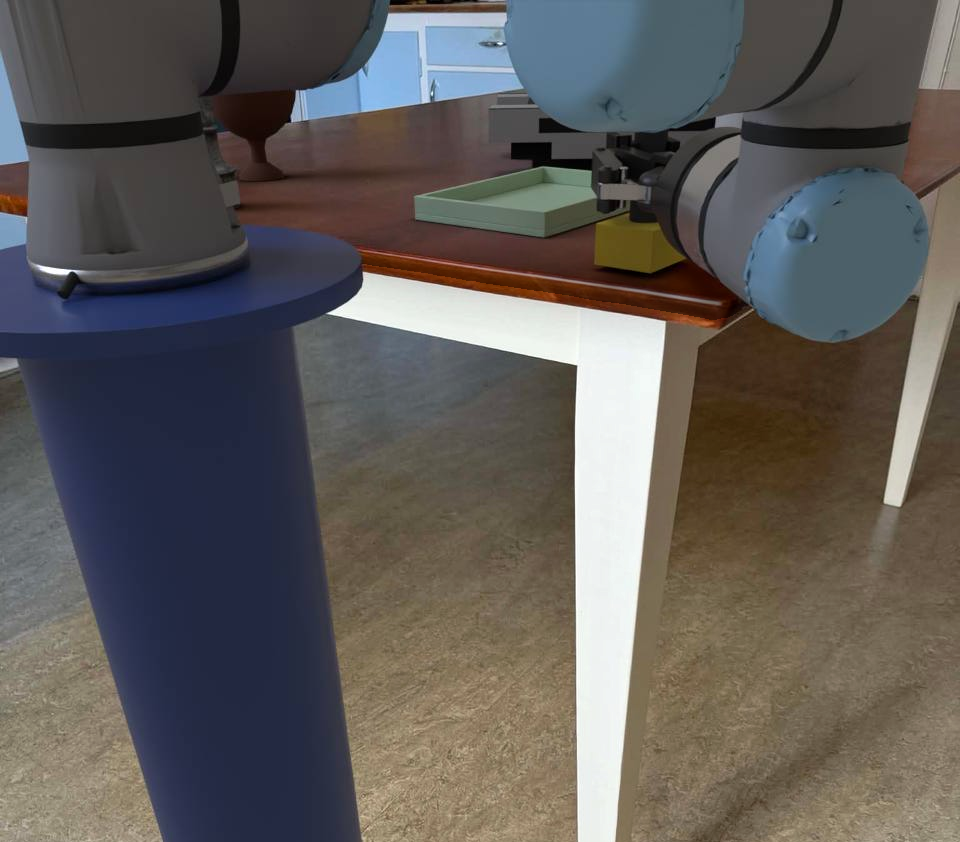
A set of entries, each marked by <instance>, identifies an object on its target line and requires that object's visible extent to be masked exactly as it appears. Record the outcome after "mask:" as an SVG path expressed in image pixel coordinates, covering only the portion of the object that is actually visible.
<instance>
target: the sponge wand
mask: <svg viewBox="0 0 960 842" xmlns="http://www.w3.org/2000/svg"><path fill="white" fill-rule="evenodd" d="M668 130H669V129H666V130H662V131H659V132H655V133H647V132H635V137H634V141H635V142H638V143H639V150H642V151H645V152H648V153H651V154H652V153H655V152H667V142H668ZM594 238H595V241H594V260H593V265H595V266H600V267H607V268H614V269H619V270H626V271H632V272H639V273H645V274H653V273H655V272H657V271H660V270H662V269H665V268H667V267H670V266H672V265H675V264H676V263H679V262H682V261H684V260H688V259H687V258H686V257H684V256H683V255H682V254H680V253H679V252H678V251H676V250H675V249H674V248H673V247H672V246H671V245H670V244H669V242H668V241H667V240H666V238H665V236H664V235H663V233H662V231H661V228H660V226H659V223H658V221H657V218H656V216H655V213H651V212H646V211H643V210H641V209H640V208H639V207H638V205H637V200H630V211H629V212H626V213H625V214H624V213H623V214H622V215H617V216H614V217H612V218H608V219H606V220H605V219H604V220H602V221H598V222H597V223H595V237H594Z"/></svg>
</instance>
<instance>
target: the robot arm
mask: <svg viewBox="0 0 960 842" xmlns="http://www.w3.org/2000/svg"><path fill="white" fill-rule="evenodd" d="M390 3H391V0H0V54H1V58H2V63H3V66H4V69H5V74H6V76H7V81H8V84H9V85H8V86H9V88H10V92H11V96H12V99H13V103H14V107H15V110H16V115H17V118H18V121H19V124H20V128H21V132H22V136H23V141H24V144H25V148H26V152H27V157H28V188H27V189H28V190H27V212H26V240H25V244H26V251H27V261H28V264H29V268H30V272H31V275H32V279H33V282H34V283H35V284H36V285H37V286H39V287H41V288H43V289H46V290H49V291H53V292H58V295H59V296H60V297H61V298H62V299H68V298H69V296H70V295H71V294H73V295H88V296H115V295H134V294H146V293H156V292H164V291H171V290H177V289H183V288H189V287H194V286H198V285H203V284H207V283H211V282H214V281H218V280H221V279H224V278H227V277H229V276H232V275H234V274H236V273H238V272H240V271H242V270H243V269H245V268H246V267H247V266H248V265H249V263H250V254H249V247H248V241H247V236H246V235H245V231H244V228H243V226H242V225H243V224H242V222H241V221H240V220H239V217H238V215H237V212H236V209H234V207H233V205H237V204H241V197H240V189H239V184H238V180H236V179H235V181H232V182H228V183H224V184H223V183H222V180H221V178H220V176H219V174H218V172H217V170H216V168H215V166H214V163H213V161H212V159H211V157H210V155H209V152H208V149H207V146H206V142H205V136H204V130H203V124H202V119H201V113H200V106H199V99H198V97H204V96H215V95H228V94H240V93H253V92H266V91H278V90H296V91H307V90H314V89H318V88H320V87H323V86H325V85H329V84H330V85H331V84H334V83H340V82H342V81H345V80H347V79H349V78H351V77H353V76H354V75H355V74H357V73H359V71H360V70H361V69H363V67H365V65H366V64H367V63H368V62H369V61H370V59H371V58H372V56H373V55H374V53H375V52H376V49H377V48H378V46H379V43H380V42H381V40H382V38H383V34H384V31H385V28H386V25H387V20H388V16H389V12H390ZM505 5H506V21H505V23H504V25H503V34H504V41H505V45H506V49H507V53H508V56H509V59H510V62H511V64H512V68H513V71H514V73H515V75H516V77H517V79H518V81H519V84H521V86H522V89H523V90H524V91H525V93H527V94H528V95H529V97H530V98H531V99H532V100H533V101H534V103H535V104H536V105H537V106H538V107H539V108H540V109H541V110H542V111H544V112H545V113H546V114H547V115H548V116H549V117H551V118H552V119H554V120H555V121H557V122H558V123H560V124H562V125H565V126H567V127H569V128H572V129H576V130H580V131H585V132H609V133H607V137H606V149H605V147H598V148H595V149H593V151H592V173H591V188H592V190H593V192H594V193H595V195H596V196H597V207H596V211H598V212H602V214H609V213H610V212H613V211H615V210H616V209H625V208H626V200H637V205H638V207H639V208H640V209H641V210H643V211H646V212H651V213H655V216H656V218H657V221H658V223H659V226H660V228H661V231H662V233H663V235H664V236H665V238H666V240H667V241H668V242H669V244H670V245H671V246H672V247H673V248H674V249H675V250H676V251H678V252H679V253H680V254H682V255H683V256H684V257H686V258H687V259H686V260H688V261H689V262H691V263H693V264H694V265H695V266H697V267H699V268H701V269H702V270H704V271H705V272H706V273H708V274H709V275H711V276H713V277H714V278H715V279H716V280H717V281H718V282H720V283H722V285H724V286H725V288H727V289H728V290H730V291H731V292H732V293H734V294H735V295H736V296H737V297H739V298H740V299H741V300H743V302H744V303H746V304H748V305H749V306H750V307H751V309H752V310H754V311H755V312H756V313H757V314H758V316H759V317H760V318H762V319H764V320H766V321H767V322H768V323H769V324H772V325H775V326H777V327H780V328H782V329H783V330H786V331H787V332H789V333H791V334H793V335H796V336H799V337H802V338H804V339H805V340H806V339H807V340H810V341H814V342H819V343H831V344H835V343H839V342H844V341H849V340H853V339H856V338H858V337H861V336H864V335H865V334H868V333H869V332H872V331H873V330H876V329H877V328H878V327H880V326H882V325H883V324H885V322H887V321H888V320H889V319H890V318H892V317H893V316H894V315H895V314H896V313H897V312H898V311H899V310H900V309H901V308H902V307H903V306H904V305H905V303H906V302H907V301H908V299H909V298H910V297H911V296H912V293H913V292H914V290H915V289H916V287H917V285H918V283H919V282H920V279H921V277H922V275H923V273H924V270H925V267H926V265H927V260H928V256H929V250H930V241H931V240H930V239H931V237H930V233H929V226H928V220H927V216H926V213H925V210H924V206H923V204H922V202H921V200H920V199H919V198H918V195H916V193H914V192H913V190H912V189H911V188H910V187H909V186H907V185H906V184H905V181H903V180H902V178H903V172H904V168H905V163H906V158H907V154H908V150H909V145H910V138H909V135H910V130H911V127H912V119H913V116H914V110H915V106H916V102H917V97H918V92H919V89H920V88H919V87H920V83H921V80H922V75H923V70H924V65H925V61H926V56H927V52H928V48H929V44H930V39H931V36H932V35H931V34H932V30H933V26H934V21H935V18H936V13H937V7H938V5H939V0H506V4H505ZM742 112H743V118H742V127H741V129H740V128H736V127H717V128H713V129H709V130H706V131H704V132H701V133H699V134H697V135H696V136H694V137H693V138H691V139H690V140H688V141H687V142H686V143H685V144H682V145H680V141H678V140H676V139H673V138H671V137H669V136H668V142H667V152H655V153H652V154H651V153H648V152H645V151H642V150H639V143H638V142H635V141H633V140H632V135H621V134H619V133H617V132H647V133H655V132H659V131H662V130H666V129H669V128H678V127H681V126H684V125H686V124H688V123H690V122H695V121H699V120H704V119H709V118H714V117H718V116H723V115H728V114H733V113H742Z"/></svg>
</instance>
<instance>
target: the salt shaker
mask: <svg viewBox="0 0 960 842" xmlns="http://www.w3.org/2000/svg"><path fill="white" fill-rule="evenodd" d="M198 99H199V106H200V113H201V119H202V124H203V130H204V136H205V142H206V146H207V149H208V152H209V155H210V157H211V159H212V161H213V163H214V166H215V168H216V170H217V172H218V174H219V176H220V178H221V180H222V183H223V184H224V183H228V182H232V181H236V174H235V173H236V172H237V171H238V168H237V167H236V166H234V165H230V164H229V163H227V162H226V161H225V160H224V157H223V154H222V152H221V149H220V143H219V138H218V129H220V125H218V124H216V123H215V118H214V116H213V110H212V103H211V97H210V96H204V97H198ZM240 204H241V203H240ZM240 204H237V205H233V207H234V209H235V210H237V209H239V208H240V207H241V205H240Z"/></svg>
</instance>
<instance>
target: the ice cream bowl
mask: <svg viewBox="0 0 960 842" xmlns="http://www.w3.org/2000/svg"><path fill="white" fill-rule="evenodd" d="M210 97H211V103H212V110H213V116H214V120H215V121H216V122H217V123H218V124H220V125H221V127H223V128H224V129H225V130H226V131H228V132H230V133H231V134H232V135H234V136H235V137H239V138H241V139H243V140H246V141H247V144H248V145H249V147H250V153H251V160H252V161H251V163H250V164H248V165H247V166H246V167H245V168H244V169H243V170H242V171H240V173H239V178H238V179H239V181H245V182H267V181H268V182H269V181H276V180H280V179H284V178H285V174H284V172H283V170H282V169H280V168H279V167H277V166H276V165H274V164H272V163H271V162H269V161H268V159H267V153H266V143H267V139H269V138H271V137H272V136H275V134H277V133H278V132H279V131H280V130H281V129H283V127H284V126H285V125H286V123H287V122H288V121H289V119H290V118H291V116H292V114H293V111H294V107H295V103H296V99H297V90H278V91H266V92H253V93H240V94H228V95H215V96H210Z"/></svg>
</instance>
